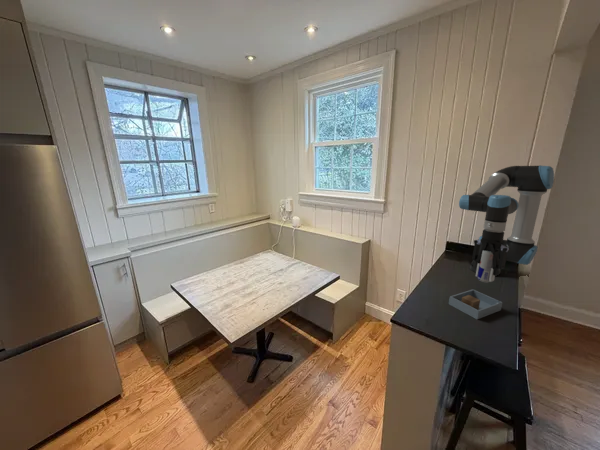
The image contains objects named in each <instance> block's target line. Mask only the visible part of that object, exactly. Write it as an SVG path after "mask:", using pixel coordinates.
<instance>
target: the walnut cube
mask: <svg viewBox="0 0 600 450" xmlns="http://www.w3.org/2000/svg"><path fill="white" fill-rule="evenodd" d="M461 302H463V303H465V304H467V305H469V306H471V307H473V308H475V309H477V310H479V304H480V300H479V299H477V298H475V297H473V296H470V295H467V296H464V297H462V301H461Z"/></svg>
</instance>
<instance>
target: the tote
mask: <svg viewBox="0 0 600 450" xmlns="http://www.w3.org/2000/svg"><path fill="white" fill-rule="evenodd" d="M467 295H470V296H473V297H475V298H477V299H479V300H480V304H479V310H477V309H475V308H473V307H471V306H469V305H467V304H465V303H463V302H461V301H462V297H464V296H467ZM448 306H451V307H453V308H455V309H456V310H459V311H460V312H463V313H464V314H466V315H468V316H470V317H472V318H474V319H475V320H480V319H482V318H485V317H487V316H489V315H493V314H495V313H497V312H500V311H502V308H503V307H502V306H503V301H501V300H498V299H497V298H493V297H492V296H489V295H487V294H485V293H482V292H480V291H478V290H476V289H473V288H472V289H469V290H467V291H463V292H459V293H457V294H453V295H450V296H449V299H448Z"/></svg>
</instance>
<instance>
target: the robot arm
mask: <svg viewBox="0 0 600 450" xmlns="http://www.w3.org/2000/svg"><path fill="white" fill-rule="evenodd" d="M554 178H555V173H554V168H553V167H552V166H550V165H510V166H507V167H505V168H501V169H499V170H497V171H495V172H493V173H492V174H491V175H490V176H489V177H488V179H487V181H486V182H485V183H483V184H482V185H481V186H480V187H478V188H477V189H476V190H475V191H474V192H473V193H471V194H463V195H461V197H459V201H458V207H459V208H460V209H461V210H465V211H473V212H482V213H485V216H484V217H485V218H484V224H483V230H482V235H481V236H479V237H478V239H475V240H473V244H474V247H473V251H472V257H471V260H472V262H471V263H470V266H469V269H470V271H472V272H474V273H475V277H476V278H478V273H479V267H480V262H481V256H482V251H484V250H490V251H491V253H492V254H493V268H491V272H490V277H489V282H488V283H492V282H494V281H495V277H497V275H498V276H500V275H499V274H501V270H503V269H505V267H506V263H507V261H508V262H511V263H515V264H521V265H523V266H524V265H525V266H526V265H530V264H531V263H532V262H533V259H534V258H535V256H536V254H537V252H538V248H539V247H538V245H535V243H536V242H535V240H534V239H533V234H534V230H535V226H536V222H537V217H538V213H539V208H540V206H541V205H540V204H541V200H542V196H544V194H546V193H547V192H548V190H551V189H552V188H553V185H554V180H555V179H554ZM508 187H509V188H517V192H518V193H519V197H518V200H517V199H515V198H513V197H511V196H510V195H505V194H497V193H498V192H500V190H503V189H504V188H508ZM514 213H515V218H514V221H513V227H512V232H511V235H509V236H508V237H507V238H506V239H504V235H505V231H506V226H507V222H508V217H509V215H512V214H514Z"/></svg>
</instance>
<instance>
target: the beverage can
mask: <svg viewBox="0 0 600 450" xmlns="http://www.w3.org/2000/svg"><path fill="white" fill-rule="evenodd" d="M491 268H493V254H492V253H491V251H490V250H484V251H482V256H481V262H480V267H479V273H478V277H477V280H478V281H479V282H482V283H490V282H489V277H490V272H491Z"/></svg>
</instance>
